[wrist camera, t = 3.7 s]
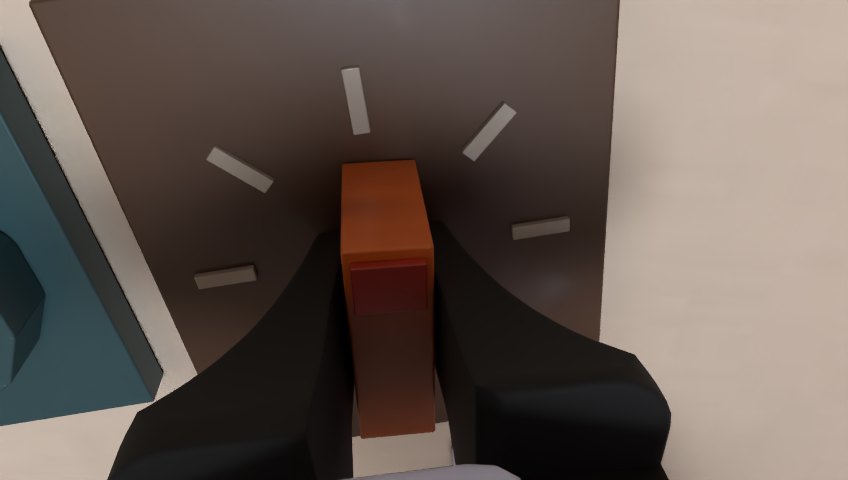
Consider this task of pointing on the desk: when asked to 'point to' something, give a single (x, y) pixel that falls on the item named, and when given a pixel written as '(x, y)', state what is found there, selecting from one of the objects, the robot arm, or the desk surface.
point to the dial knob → (389, 297)
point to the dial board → (345, 138)
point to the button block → (57, 290)
